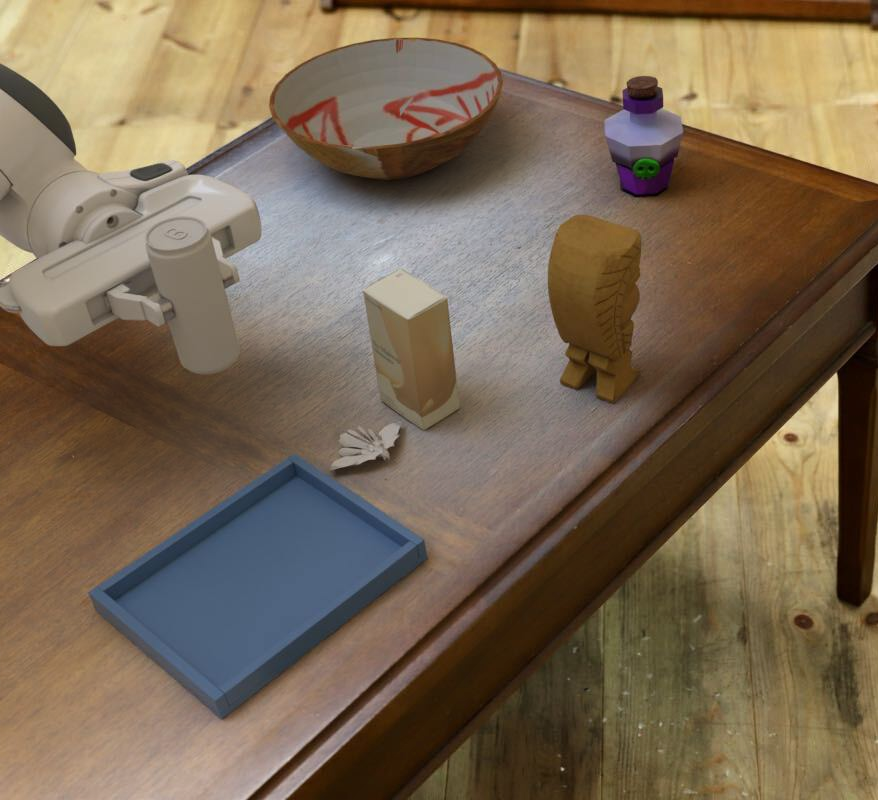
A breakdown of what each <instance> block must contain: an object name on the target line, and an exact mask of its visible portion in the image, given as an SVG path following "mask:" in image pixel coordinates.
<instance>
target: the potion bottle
mask: <svg viewBox="0 0 878 800" xmlns="http://www.w3.org/2000/svg"><path fill="white" fill-rule="evenodd" d="M658 85H659V81H658V78H657V77H655V76H651V75H638V76H634V77H631V78H630V79H628V80H627V81H626V87H625V88H623V89H622V90H621V91H622V110H620V111H618V112H616V113H615V114H612V115H611V116H609V117H607V118H605V119H604V135H605V136H604V137H605V140H606V143H607V148H608V150H609V155H610V158H611V161H612V163H614V164H615V166H616V167H615V168H616V170H617V173H618V177H619V187H620V191H621V192H624V193H625V194H628V195H631V196H632V197H634V198H645V197H647V198H648V197H649V198H650V197H657V196H659V195H661V194H662V193H664V192H666V191H667V190H669V189H670V188H671V185H670V181H671V177H672V172H673V168H674V164H675V158H677V157H678V156H679V151H680V148H681V143H682V139H683V135H684V129H683V121H682V116H681V115H678V114H677V113H673V112H671V111H669V110H667V109H664V91H663V88H662V87H660V86H658Z"/></svg>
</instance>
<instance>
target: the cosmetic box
mask: <svg viewBox="0 0 878 800" xmlns="http://www.w3.org/2000/svg"><path fill="white" fill-rule="evenodd" d="M362 294H363V299H364V300H363V301H364V306H365V312H366V317H367V318H366V319H367V323H368V330H369V336H370V343H371V349H372V354H373V361H374V367H375V374H376V380H377V386H378V392H379V398H380V401H382V402H383V403H385V405H387V406H388V407H389V408H391V409H392V410H394V411H395V412H396V413H397V414H399V415H400V416H402V417H403V418H404V419H406V420H408V421H409V422H411V423H412V424H413V425H415V426H416V427H418V428H419V429H420V430H422V431H425V430H428V428H430V427H432V426H434V425H435V424H437V423H438V422H440V421H442V420H443V419H445V418H447V417H448V416H450V415H451V414H453V413H454V412H457V411H458V410H459V409H460V407H461V405H460V398H459V397H460V396H459V387H458V379H457V371H456V370H457V369H456V364H455V363H456V362H455V361H456V360H455V353H454V343H453V336H452V327H451V319H450V310H449V309H450V308H449V302H448V300H449V299H448V296H447V295H445V294H444V293H442V292H440V291H439V290H437V289H436V288H434V287H432V285H429V284H428V283H427V282H426V281H424V280H422V279H420V278H418V277H417V276H415V275H413V274H412V273H410V272H409V271H408V270H406V269H404V268H402V267H400V268H397V269H396V270H394V271H392V272H391V273H388V274H387V275H385V276H383V277H382V278H379V279H378V280H376V281H374V282H372V283H371V284H369V285H367V286H366V287H364V288H363V289H362Z"/></svg>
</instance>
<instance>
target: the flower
mask: <svg viewBox="0 0 878 800" xmlns="http://www.w3.org/2000/svg"><path fill="white" fill-rule="evenodd" d="M402 422H403V420H400V421H395V422H391V423H389V424H387V425H385V426H384V427H383V428H382V429H381V430H380V431H379V432H378V434H379V435H378V436H379V437H381V440H379V438H378V437H377V435H376V433H375V432H374V430H373V429H368V433H369V435H370V436H371V437H372V438H371V437H370V436H369V435H368V433H367V432H366V430H365V429H364V428H363V427H361V426H359V425H358V426H357V429H358V430H359V431H360V432H361V433H362V434H363V435H365V436H366V437H367V438H368V439H369V440H368V439H367V438H366V437H363V436H362V435H361V434H360V433H359V432H357V431H355V430H352V429H347V431H344V430H343V429H342V428H340V427H339V426H336V425H332V426H331V428H332V429H333V430H334V431H335V432H336V433H337V434H339V439H338V442H339V444H340V445H341V446H343V447H342V448H340V449H339V450H338V451H337V454H338V455H339V456H341V458H338V459H336V460H334V461H333V462H332V463H331V465H330V466H329V471H334V470H337V469H342V468H345V467H349V466H358V465H361V464H362V463H364V462H366V461H371V460H373V461H375V460H376V459H377V458H378V457H381V458H383V460H388V461H387V462H388V463H391V461H390V459H391V456H390V452H389V451H388V449H390V448H391V447H395V441H396V440H397V439H398V438H399V437H400V436H401V434H399V431H400V427H401V425H402Z"/></svg>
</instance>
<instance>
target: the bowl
mask: <svg viewBox="0 0 878 800" xmlns="http://www.w3.org/2000/svg"><path fill="white" fill-rule="evenodd" d="M503 85H504V82H503V74H502V72H501V70H500V69H499V67H498V65H497V64H496V62H494V60H492V59H491V58H490V57H488V56H487V54H484V53H483V52H481V51H478V50H476V49H475V48H473V47H470V46H467V45H464V44H461V43H459V42H454V41H450V40H444V39H439V38H428V37H388V38H380V39H379V38H377V39H371V40H365V41H361V42H355V43H351V44H348V45H344V46H340V47H336V48H333V49H330V50H328V51H325V52H323V53H319V54H318V55H317V54H316V55H315V56H313V57H311V58H309V59H307V60H305V61H303V62H301V63H299V64H298V65H297V66H295V67H294V68H292V69H291V70H290V71H288V72H287V73H285V74H284V76H283V77H281V79H280V80H278V82H277V83H276V84H275V86H274V88H273V89H272V92H271V93H270V95H269V102H268V109H269V110H270V115H271V117H272V119H273V120H274V121H275V123H276V124H277V125H278V126H279V128H280V129H281V130H282V131H283V132H284V134H285V135H286V136H287V137H288V138H289V139H290V141H292V142H293V143H294V145H295V146H297V148H299V149H300V150H302V151H303V152H304V153H306V154H307V155H308V156H310V157H311V158H313V159H314V160H316V161H317V162H319V163H321V164H323V165H325V166H327V167H328V168H331V169H333V170H335V171H337V172H340V173H343V174H347V175H351V176H356V177H362V178H366V179H372V180H373V179H375V180H381V181H383V180H402V179H408V178H413V177H415V176H418V175H422V174H425V173H426V172H429V171H430V170H432V169H435V168H437V167H439V166H440V165H441V166H442V165H443V164H446V163H447V162H449V161H450V160H452V159H453V158H455V157H457V156H458V155H459V154H461V153H462V152H463V151H464V150H465V149H466V148H467V147H468V146H469V145H470V144H471V143H472V142H473V141H474V140H475V139H476V138H477V137H478V135H479V134H480V133H481V131H482V130H483V129H484V128H485V125H486V124H487V122H488V121H489V119H490V117H491V116H492V115H493V112H494V110H495V108H496V106H497V103H498V102H499V98H500V96H501V92H502V88H503Z"/></svg>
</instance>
